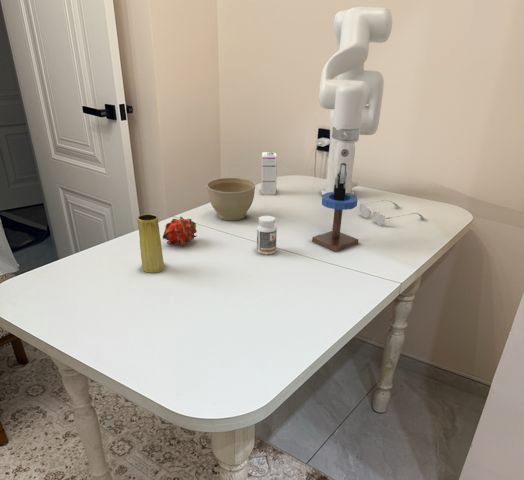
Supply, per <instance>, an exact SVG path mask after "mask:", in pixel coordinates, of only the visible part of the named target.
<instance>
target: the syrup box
mask: <svg viewBox="0 0 524 480" xmlns="http://www.w3.org/2000/svg"><path fill="white" fill-rule="evenodd" d="M277 157H278V153H277V152H276V151H275V152H274V151H263V152H261V171H260V172H261V173H260V174H261V183H260V184H261V186H260V187H261V190H260V191H261V193H260V194H261V195H267V196H269V195H270V196H273V195H274V196H276V195H277V177H278V176H277V175H278V173H277V172H278V170H277V169H278V167H277V166H278V165H277V164H278V160H277V159H278V158H277Z"/></svg>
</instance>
